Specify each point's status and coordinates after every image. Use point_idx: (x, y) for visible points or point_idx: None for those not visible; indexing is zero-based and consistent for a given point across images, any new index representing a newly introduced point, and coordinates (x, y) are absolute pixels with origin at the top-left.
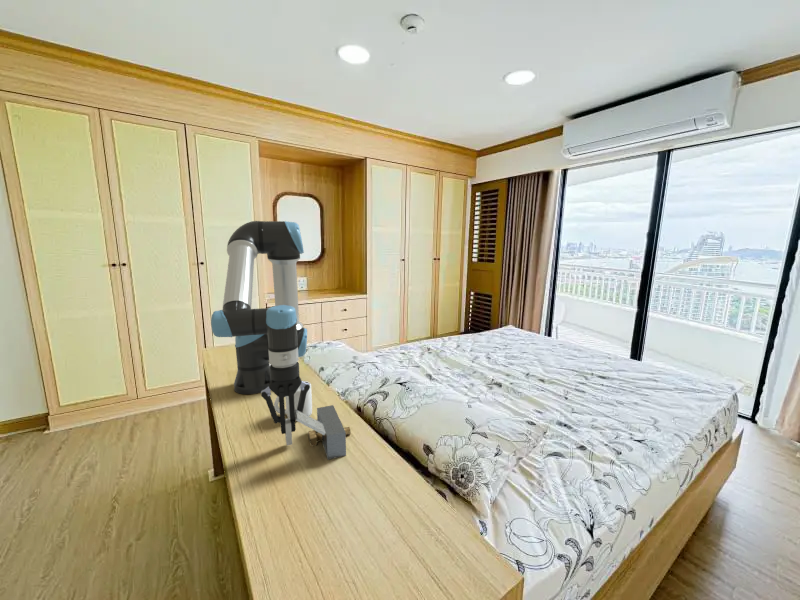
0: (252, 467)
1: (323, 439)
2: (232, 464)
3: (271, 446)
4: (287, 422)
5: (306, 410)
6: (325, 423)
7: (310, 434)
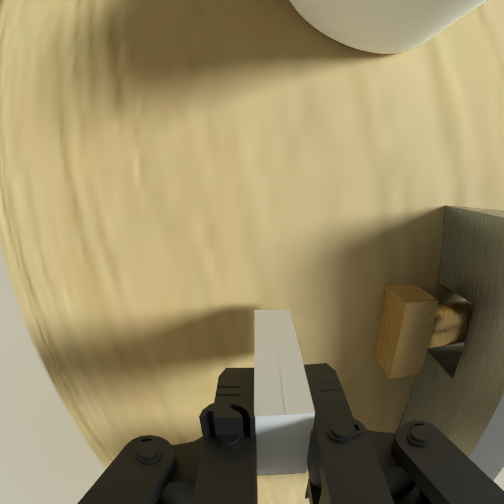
0: (112, 397)
1: (433, 404)
2: (39, 344)
3: (171, 284)
4: (277, 461)
5: (429, 35)
6: (485, 444)
7: (404, 342)
